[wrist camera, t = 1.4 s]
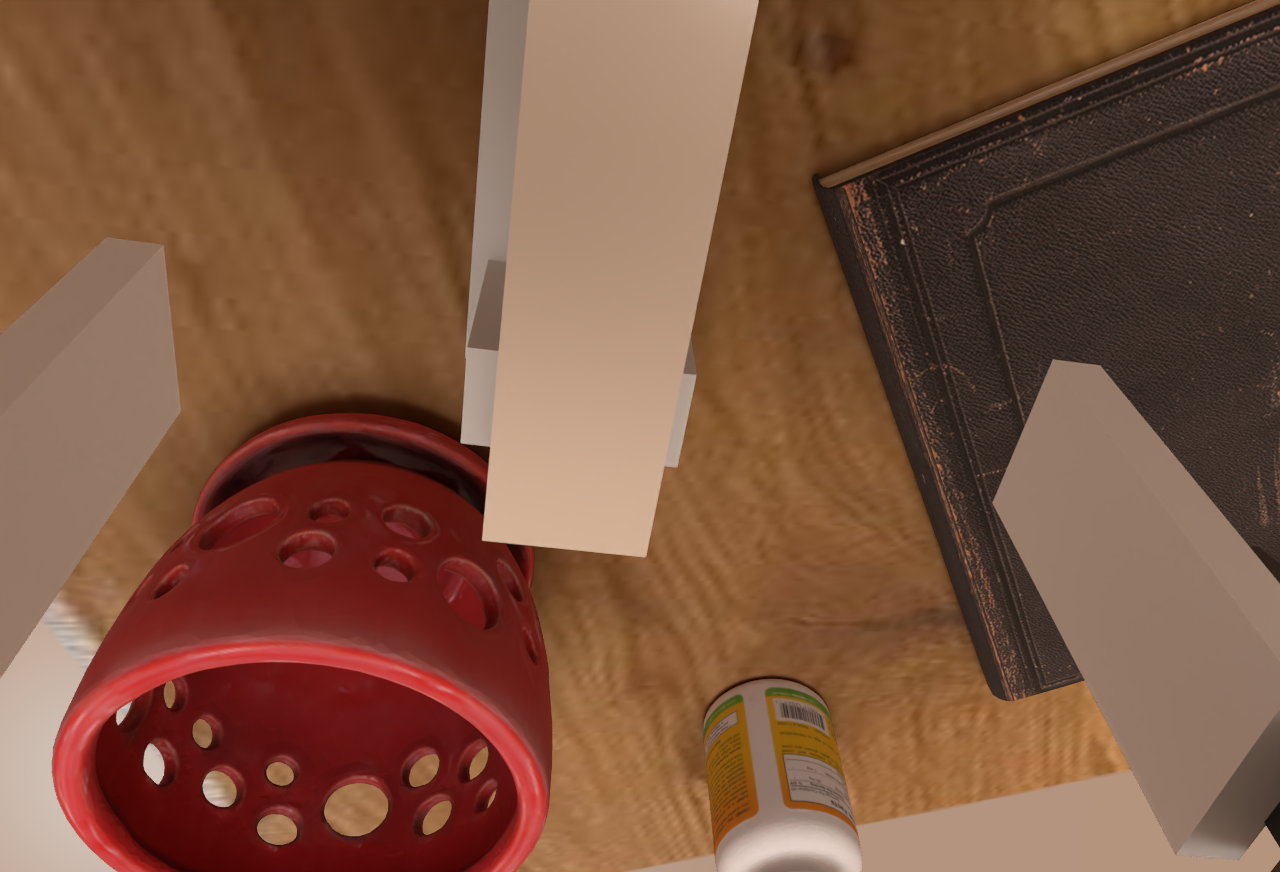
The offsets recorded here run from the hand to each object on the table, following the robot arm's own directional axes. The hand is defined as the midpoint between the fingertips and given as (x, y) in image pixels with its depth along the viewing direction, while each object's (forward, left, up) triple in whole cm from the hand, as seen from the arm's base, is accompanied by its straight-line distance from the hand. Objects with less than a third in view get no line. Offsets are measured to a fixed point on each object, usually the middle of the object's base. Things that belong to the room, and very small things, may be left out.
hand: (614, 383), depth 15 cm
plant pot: (+17, -6, -16) cm, 24 cm away
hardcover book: (+7, +19, -17) cm, 26 cm away
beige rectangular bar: (0, 0, -10) cm, 10 cm away
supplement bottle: (+25, +10, -16) cm, 31 cm away
